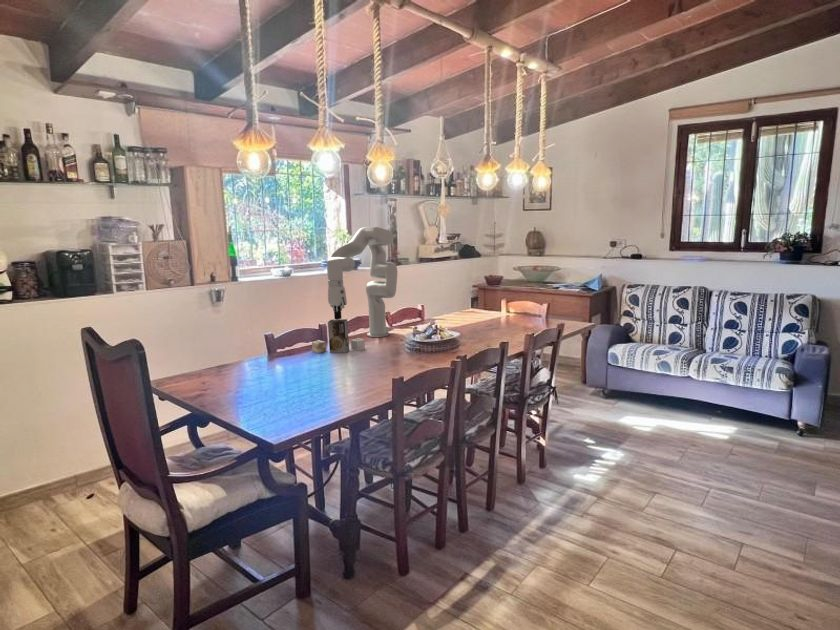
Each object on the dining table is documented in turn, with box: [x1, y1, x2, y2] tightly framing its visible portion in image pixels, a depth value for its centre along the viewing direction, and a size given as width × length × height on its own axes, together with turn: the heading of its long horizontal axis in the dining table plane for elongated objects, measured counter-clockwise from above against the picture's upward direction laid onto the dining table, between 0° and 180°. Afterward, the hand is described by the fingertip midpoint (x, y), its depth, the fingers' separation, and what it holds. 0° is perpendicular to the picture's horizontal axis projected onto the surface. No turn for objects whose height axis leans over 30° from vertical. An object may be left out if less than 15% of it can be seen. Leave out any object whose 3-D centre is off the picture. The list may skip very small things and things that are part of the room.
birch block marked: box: [311, 340, 327, 354], centre depth 276 cm, size 5×5×5 cm
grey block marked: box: [350, 337, 366, 351], centre depth 279 cm, size 5×5×5 cm
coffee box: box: [327, 318, 350, 353], centre depth 274 cm, size 9×6×16 cm
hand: (338, 318), depth 273 cm, fingers closed
